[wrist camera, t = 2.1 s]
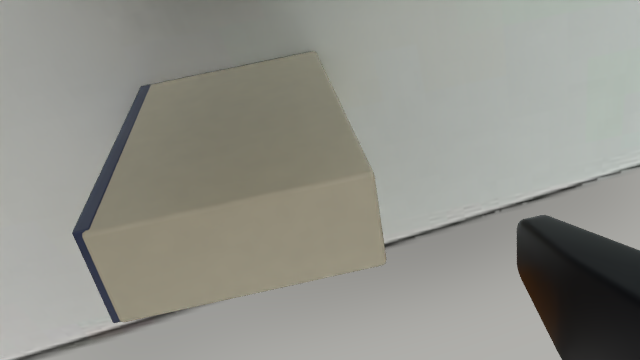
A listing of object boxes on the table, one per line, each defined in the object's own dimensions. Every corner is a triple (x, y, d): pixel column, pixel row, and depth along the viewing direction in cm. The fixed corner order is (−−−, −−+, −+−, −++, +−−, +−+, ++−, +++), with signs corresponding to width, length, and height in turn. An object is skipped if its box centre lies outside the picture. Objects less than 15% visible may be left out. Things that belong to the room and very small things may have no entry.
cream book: (162, 147, 17) (111, 328, 10) (141, 85, 16) (69, 235, 9) (326, 113, 18) (387, 267, 10) (315, 49, 17) (374, 171, 9)
